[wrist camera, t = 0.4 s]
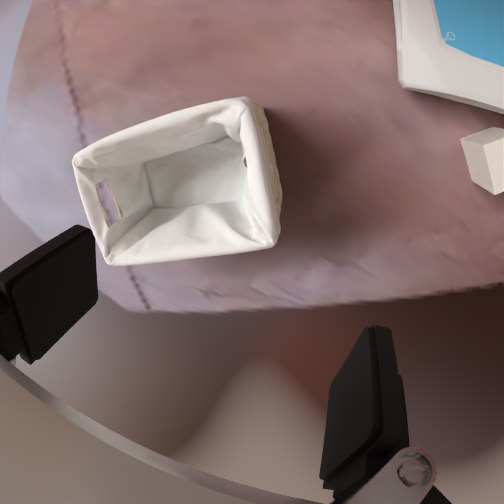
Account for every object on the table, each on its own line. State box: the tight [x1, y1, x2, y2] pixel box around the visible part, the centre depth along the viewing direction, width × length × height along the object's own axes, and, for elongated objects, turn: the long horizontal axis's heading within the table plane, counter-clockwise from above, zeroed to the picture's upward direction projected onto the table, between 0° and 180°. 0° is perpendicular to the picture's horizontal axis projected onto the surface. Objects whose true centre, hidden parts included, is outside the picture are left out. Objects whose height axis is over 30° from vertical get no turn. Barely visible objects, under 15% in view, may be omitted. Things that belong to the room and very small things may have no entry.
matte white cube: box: [460, 127, 504, 195], centre depth 30 cm, size 6×6×8 cm
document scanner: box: [393, 0, 504, 114], centre depth 22 cm, size 21×28×6 cm
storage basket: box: [72, 97, 283, 266], centre depth 39 cm, size 24×16×15 cm
